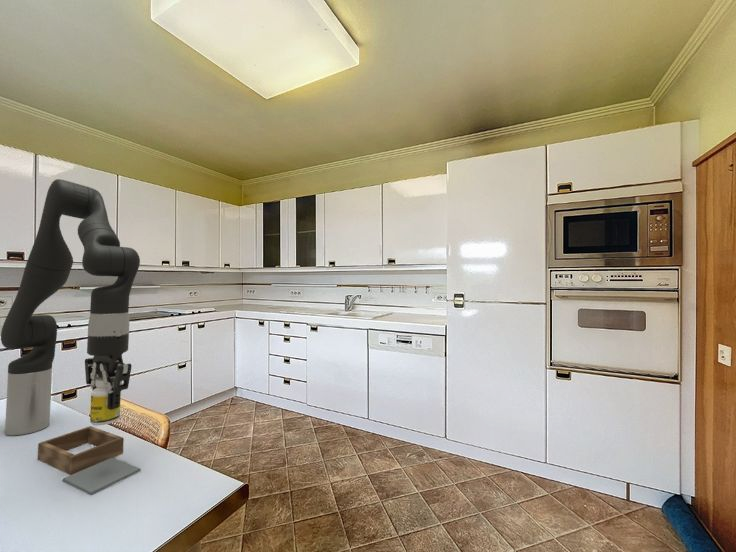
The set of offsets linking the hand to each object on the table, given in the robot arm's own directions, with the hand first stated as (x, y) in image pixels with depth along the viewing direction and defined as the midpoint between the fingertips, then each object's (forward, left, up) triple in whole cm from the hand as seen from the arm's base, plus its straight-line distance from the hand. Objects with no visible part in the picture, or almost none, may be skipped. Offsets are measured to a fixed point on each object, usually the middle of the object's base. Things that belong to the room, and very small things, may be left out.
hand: (105, 405), depth 76 cm
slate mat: (0, 0, -16) cm, 16 cm away
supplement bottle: (0, 0, -4) cm, 4 cm away
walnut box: (-14, +2, -16) cm, 21 cm away
